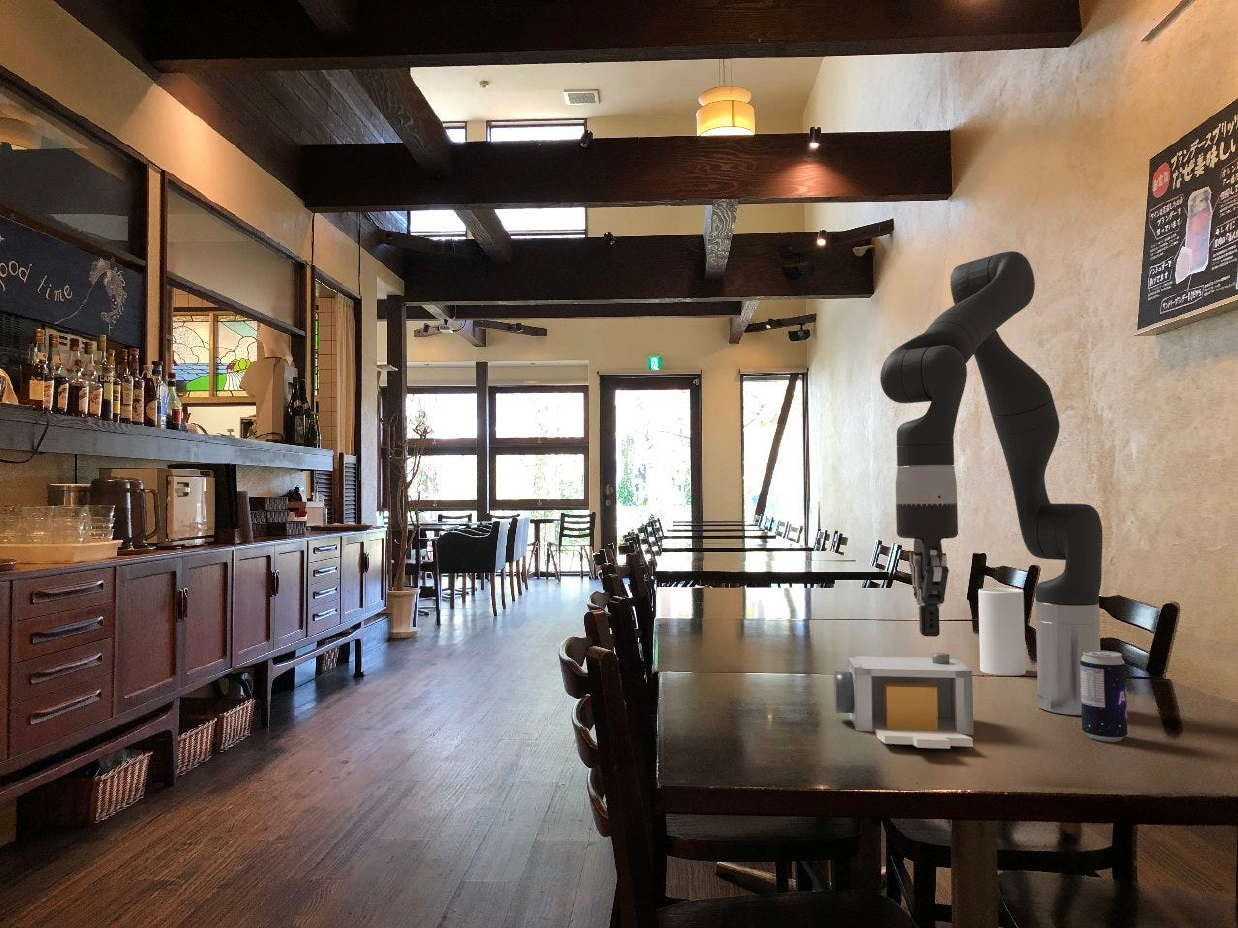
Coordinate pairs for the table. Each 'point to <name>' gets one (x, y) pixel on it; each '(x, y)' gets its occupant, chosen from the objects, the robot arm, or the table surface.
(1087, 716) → the beverage can
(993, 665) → the cup
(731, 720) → the table surface
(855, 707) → the camera housing
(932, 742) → the side door
